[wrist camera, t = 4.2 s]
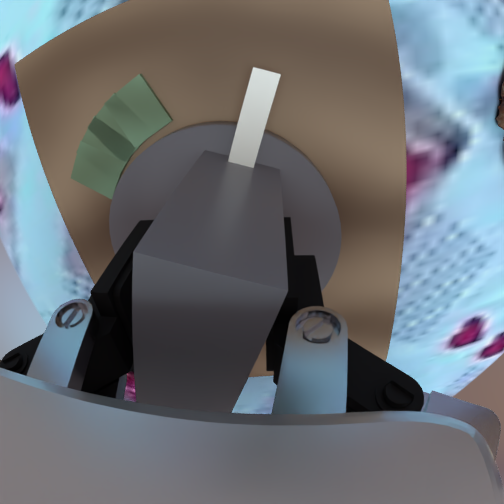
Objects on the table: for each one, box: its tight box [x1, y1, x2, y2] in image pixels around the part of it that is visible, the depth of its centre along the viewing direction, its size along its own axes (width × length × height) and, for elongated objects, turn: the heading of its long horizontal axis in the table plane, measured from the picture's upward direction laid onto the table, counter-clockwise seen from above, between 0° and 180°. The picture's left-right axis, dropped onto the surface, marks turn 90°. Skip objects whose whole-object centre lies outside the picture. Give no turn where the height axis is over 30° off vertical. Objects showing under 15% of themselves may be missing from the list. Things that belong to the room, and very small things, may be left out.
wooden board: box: [15, 0, 406, 377], centre depth 13 cm, size 20×15×2 cm
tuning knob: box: [109, 67, 342, 413], centre depth 9 cm, size 11×9×7 cm
